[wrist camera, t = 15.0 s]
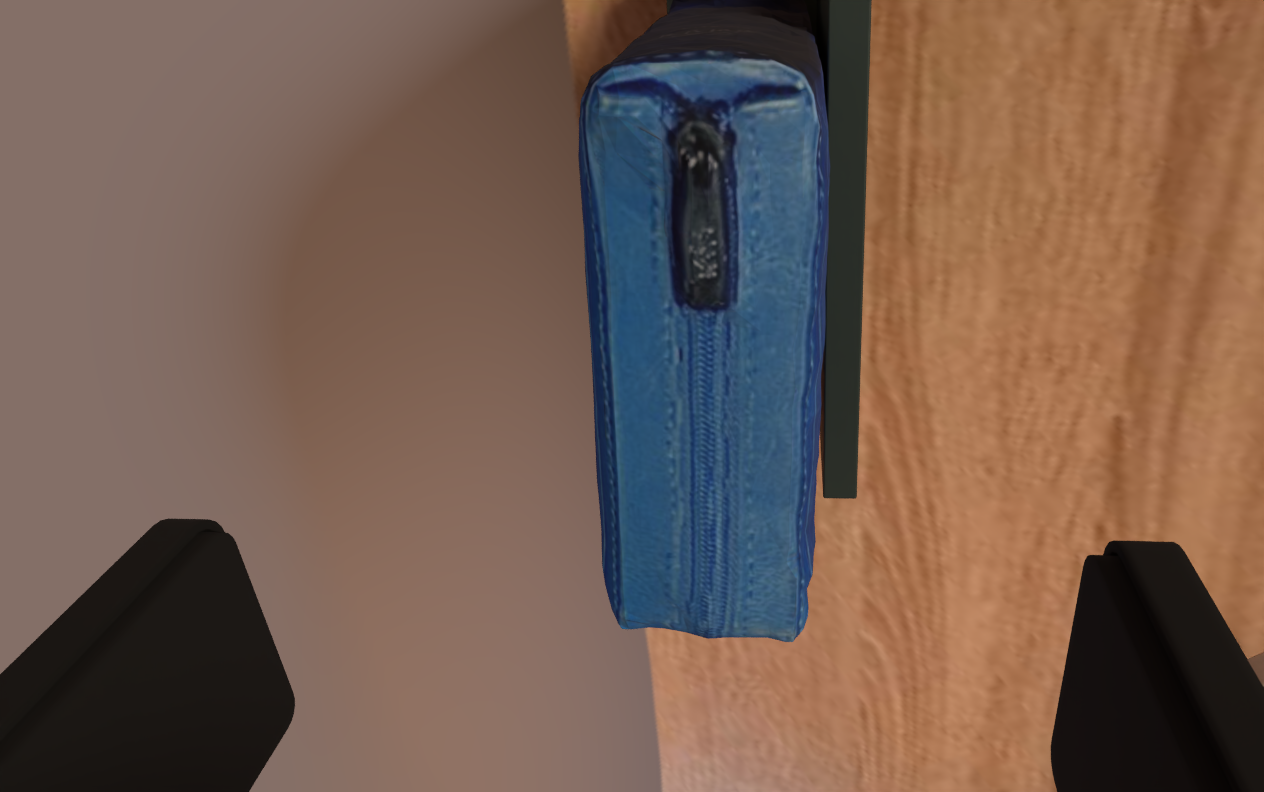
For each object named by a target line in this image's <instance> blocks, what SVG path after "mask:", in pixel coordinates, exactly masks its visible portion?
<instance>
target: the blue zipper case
mask: <svg viewBox="0 0 1264 792" xmlns="http://www.w3.org/2000/svg"><path fill="white" fill-rule="evenodd" d="M579 168H580V169H579V170H580V184H581V198H582V211H583V223H584V241H585V272H586V285H587V298H588V312H589V324H590V337H591V353H592V372H593V393H594V419H595V442H596V465H597V466H596V467H597V483H598V493H599V504H600V516H601V528H602V529H601V530H602V566H603V573H604V578H605V585H606V589H607V593H608V597H609V600H610V604H611V607H612V610H613V613H614V615H615V617H616V619H617V621H618V624H619V625H620V627H621V628H622V629H637V628H647V627H653V628H666V629H671V630H677V631H682V632H687V633H691V634H694V635H698V636H701V637H705V638H722V637H768V638H772V639H776V640H780V641H784V642H793V641H794V640H795V638H796V637H797V636H798V635H799V634H800V633H801V631H802V630H803V629H804V626H805V623H806V620H807V617H808V597H807V587H808V585H809V582H810V579H811V577H812V574H813V556H814V548H815V525H814V513H815V496H816V470H817V463H818V457H819V435H820V422H821V371H822V362H823V352H824V346H825V327H826V316H825V287H826V275H827V251H828V230H829V211H828V197H829V185H830V158H829V137H828V121H827V112H826V104H825V94H824V80H823V71H822V66H821V61H820V58H819V54H818V49H817V45H816V44H815V37H814V36H813V32H812V28H811V23H810V18H809V14H808V11H807V6H806V4H805V2H804V0H673V1H672V4H671V7H670V11H669V13H668V15H666V16H664V17H662V18H660V19H659V20H657V21H656V22H655V23H654V24H653V25H652V26H651V27H650V28H649V29H648V30H647V31H646V32H645V33H644V35H642V36H640V37H639V38H637V39H635V40H634V41H633V42H632V43H631V44H630V45H629V46H628V47H627V48H626V49H625V50H624V51H623V52H622V53H621V54H620V55H619V56H618V57H617V58H616V59H615V60H613V61H612V62H611V63H610V64H608V65H606V66H604V67H602V68H601V69H600V70H599V71H597V72H596V73H595V74H594V75H592V76H591V78H590V80H589V83H588V85H587V87H586V90H585V92H584V94H583V97H582V99H581V108H580V118H579Z"/></svg>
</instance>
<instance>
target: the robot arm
mask: <svg viewBox="0 0 1264 792" xmlns="http://www.w3.org/2000/svg"><path fill="white" fill-rule="evenodd" d="M294 707H295V698H294V694H293V691H292V688H291V685H290V683H289V680H288V678H287V675H286V672H285V670H284V667H283V664H282V662H281V660H280V657H279V654H278V651H277V649H276V646H275V644H274V641H273V638H272V636H271V633H270V631H269V628H268V625H267V623H266V620H265V617H264V615H263V612H262V610H261V607H260V604H259V602H258V599H257V597H256V594H255V592H254V589H253V586H252V583H251V581H250V579H249V576H248V573H247V570H246V568H245V565H244V563H243V560H242V557H241V555H240V552H239V549H238V547H237V544H236V542H235V540H234V538H233V537H232V536H231V535H230V534H228V533H225V532H224V530H223V528H222V527H221V526H220V525H219V524H218V523H217V522H215V521H212V520H205V519H204V520H203V519H165V520H161V521H159V522H158V523H157V524H155V525H154V526H152V528H150V529H149V530H148V531H147V532H146V533H145V534H144V535H143V536H142V537H141V538H140V539H139V540H138V541H137V542H136V543H135V544H134V545H133V546H132V547H131V548H130V549H129V550H128V551H127V552H126V553H125V554H124V555H123V556H122V557H121V558H120V559H119V560H118V561H116V562H115V563H114V565H112V566H111V567H110V568H109V569H108V570H107V571H106V572H105V573H104V574H103V575H102V576H101V577H100V578H99V579H98V580H97V581H96V582H95V583H94V584H93V585H92V586H91V587H90V588H89V589H88V590H87V591H86V592H85V593H84V594H83V595H81V597H79V598H78V599H77V600H76V601H75V602H74V603H73V604H72V605H71V606H70V607H69V608H68V609H67V610H66V611H65V612H64V613H63V614H62V615H61V616H60V617H59V618H58V619H57V620H56V621H55V622H54V623H53V624H52V625H51V626H50V627H49V628H48V629H47V630H45V631H44V632H43V633H42V634H41V635H40V636H39V637H38V638H37V639H36V640H35V641H34V642H33V643H32V644H31V645H30V646H29V647H28V648H27V649H26V650H25V651H24V652H23V653H22V654H21V655H20V656H19V657H18V658H17V659H16V660H15V661H14V662H13V663H12V664H10V665H9V667H7V668H6V670H4V671H3V672H2V673H1V674H0V792H249V791H250V789H251V787H252V786H253V784H254V782H255V781H256V779H257V778H258V776H259V774H260V773H261V771H262V769H263V768H264V766H265V765H266V763H267V761H268V760H269V758H270V756H271V755H272V753H273V752H274V750H275V748H276V747H277V745H278V743H279V742H280V740H281V739H282V737H283V735H284V734H285V732H286V730H287V729H288V727H289V725H290V723H291V721H292V717H293V714H294ZM1051 764H1052V771H1053V777H1054V781H1055V785H1056V788H1057V792H1264V687H1263V685H1262V684H1261V682H1260V680H1259V678H1258V677H1257V675H1256V673H1255V672H1254V670H1253V668H1252V666H1251V665H1250V663H1249V661H1248V660H1247V658H1246V656H1245V654H1244V653H1243V651H1242V649H1241V648H1240V646H1239V644H1238V643H1237V641H1236V639H1235V637H1234V636H1233V634H1232V632H1231V631H1230V629H1229V627H1228V625H1227V624H1226V622H1225V620H1224V619H1223V617H1222V615H1221V613H1220V612H1219V610H1218V608H1217V607H1216V605H1215V603H1214V601H1213V600H1212V598H1211V596H1210V595H1209V593H1208V591H1207V589H1206V588H1205V586H1204V584H1203V583H1202V581H1201V579H1200V578H1199V576H1198V574H1197V572H1196V571H1195V569H1194V567H1193V566H1192V564H1191V562H1190V560H1189V559H1188V557H1187V555H1186V554H1185V552H1184V551H1183V549H1182V548H1181V547H1180V546H1179V545H1178V544H1176V543H1174V542H1149V541H1111V542H1109V543H1108V545H1107V546H1106V548H1105V551H1104V554H1103V555H1089V556H1087V558H1086V560H1085V562H1084V566H1083V571H1082V576H1081V582H1080V587H1079V593H1078V598H1077V604H1076V609H1075V615H1074V620H1073V626H1072V631H1071V637H1070V642H1069V648H1068V653H1067V659H1066V664H1065V670H1064V675H1063V681H1062V686H1061V692H1060V697H1059V703H1058V708H1057V714H1056V719H1055V725H1054V730H1053V736H1052V742H1051Z"/></svg>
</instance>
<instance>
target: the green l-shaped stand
mask: <svg viewBox="0 0 1264 792" xmlns="http://www.w3.org/2000/svg"><path fill="white" fill-rule="evenodd" d="M672 1H673V0H667V15H668V13H669V11H670V7H671V4H672ZM804 2H805V4H806V6H807V11H808V14H809V18H810V23H811V28H812V32H813V36H814V37H815V44H816V45H817V49H818V54H819V58H820V61H821V66H822V71H823V80H824V94H825V104H826V112H827V121H828V137H829V158H830V185H829V197H828V211H829V230H828V251H827V275H826V287H825V316H826V327H825V346H824V352H823V362H822V371H821V422H820V441H821V461H822V481H823V497H824V498H856V497H857V467H858V433H859V400H860V367H861V333H862V300H863V267H864V233H865V200H866V167H867V134H868V100H869V67H870V34H871V0H804Z"/></svg>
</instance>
